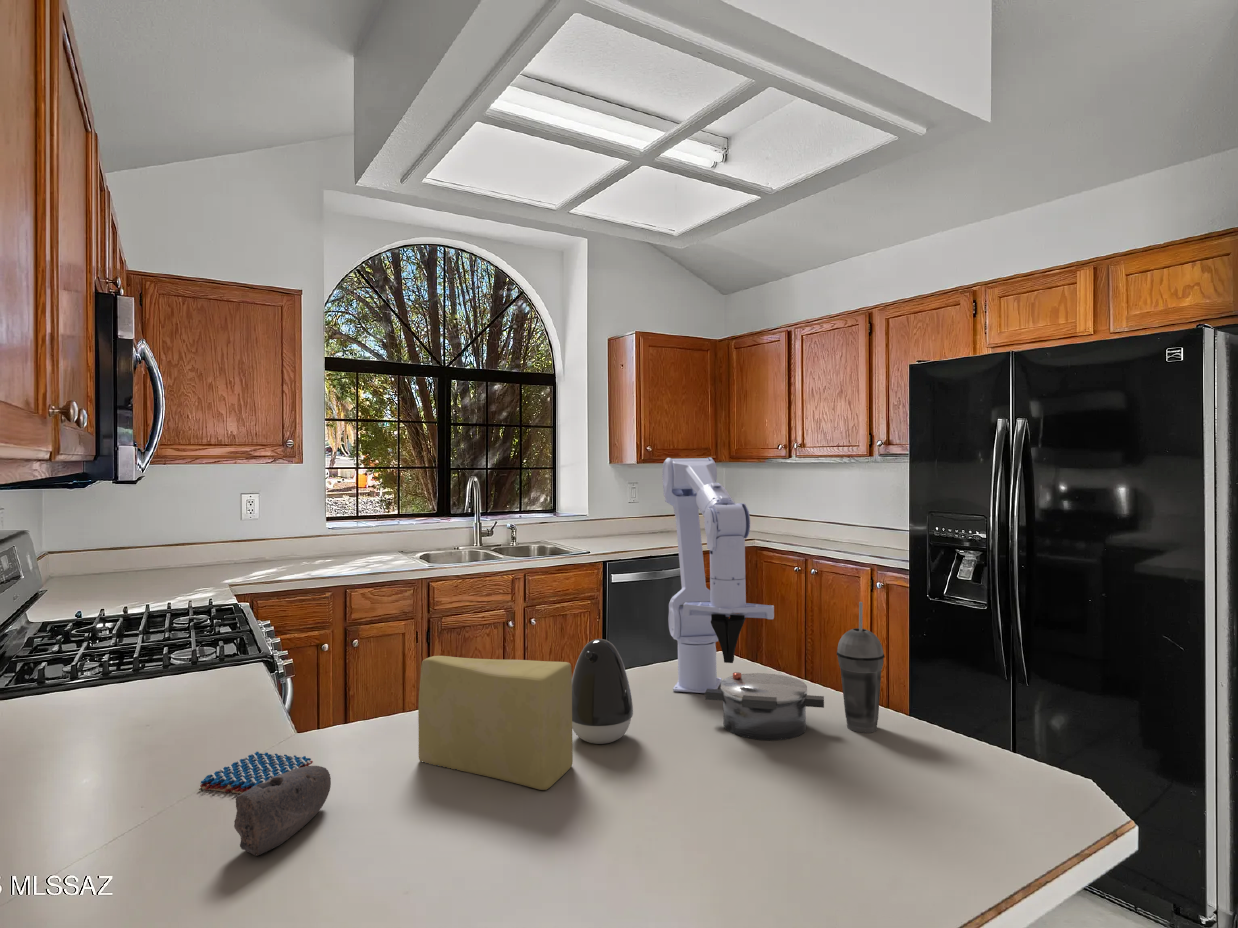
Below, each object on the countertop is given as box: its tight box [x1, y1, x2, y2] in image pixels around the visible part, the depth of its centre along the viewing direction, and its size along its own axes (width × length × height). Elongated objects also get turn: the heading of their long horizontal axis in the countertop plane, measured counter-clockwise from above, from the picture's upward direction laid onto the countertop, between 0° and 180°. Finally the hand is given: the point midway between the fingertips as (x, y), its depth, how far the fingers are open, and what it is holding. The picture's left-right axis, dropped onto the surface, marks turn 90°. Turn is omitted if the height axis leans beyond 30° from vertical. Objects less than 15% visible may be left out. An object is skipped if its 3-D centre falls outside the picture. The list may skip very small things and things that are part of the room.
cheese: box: [417, 655, 574, 791], centre depth 100 cm, size 22×10×15 cm, turn 70°
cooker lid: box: [720, 671, 808, 710], centre depth 114 cm, size 15×14×2 cm
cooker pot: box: [704, 688, 825, 741], centre depth 115 cm, size 13×19×6 cm
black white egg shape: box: [572, 638, 634, 745], centre depth 111 cm, size 10×10×15 cm
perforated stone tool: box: [233, 765, 332, 857], centre depth 82 cm, size 15×5×7 cm, turn 165°
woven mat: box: [199, 751, 314, 794], centre depth 98 cm, size 10×11×2 cm
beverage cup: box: [836, 601, 886, 734], centre depth 114 cm, size 7×7×20 cm
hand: (729, 661), depth 117 cm, fingers closed
